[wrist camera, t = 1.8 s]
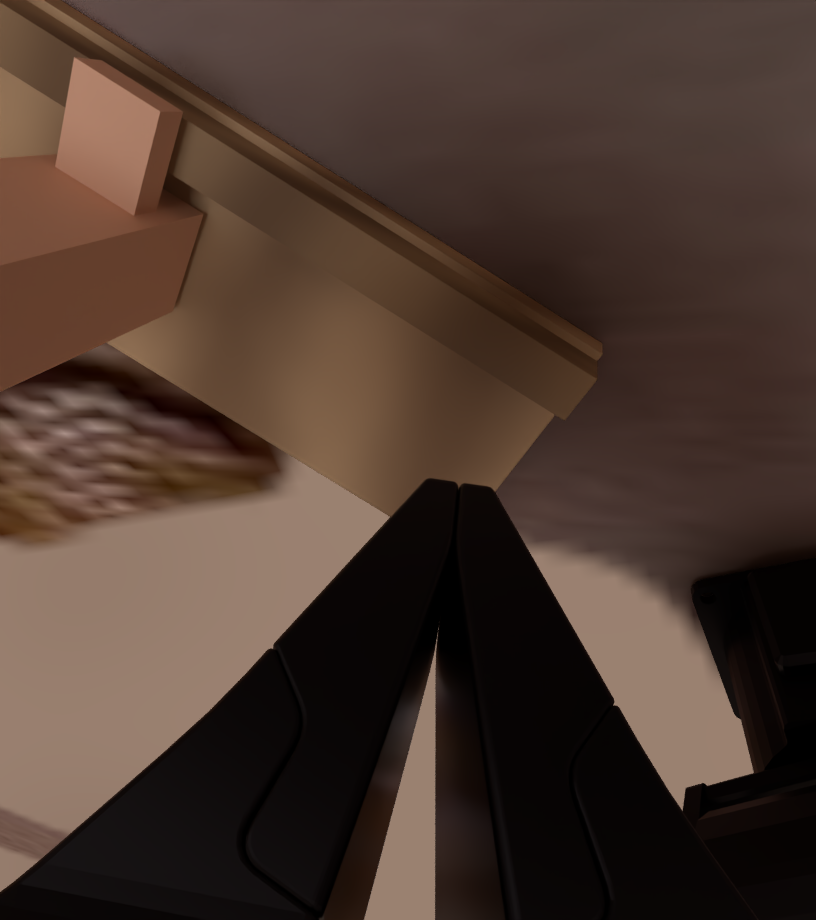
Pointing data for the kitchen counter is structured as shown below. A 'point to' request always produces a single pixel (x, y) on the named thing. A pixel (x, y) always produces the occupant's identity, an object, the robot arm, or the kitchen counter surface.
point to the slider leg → (91, 226)
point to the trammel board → (314, 293)
